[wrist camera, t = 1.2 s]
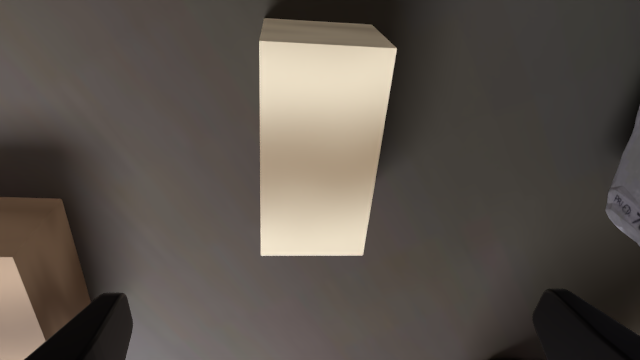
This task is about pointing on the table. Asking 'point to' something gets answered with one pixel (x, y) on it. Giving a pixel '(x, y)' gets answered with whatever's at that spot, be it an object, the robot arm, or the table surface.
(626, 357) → the robot arm
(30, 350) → the brick
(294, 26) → the ash brick
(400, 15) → the table surface
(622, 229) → the stone block
